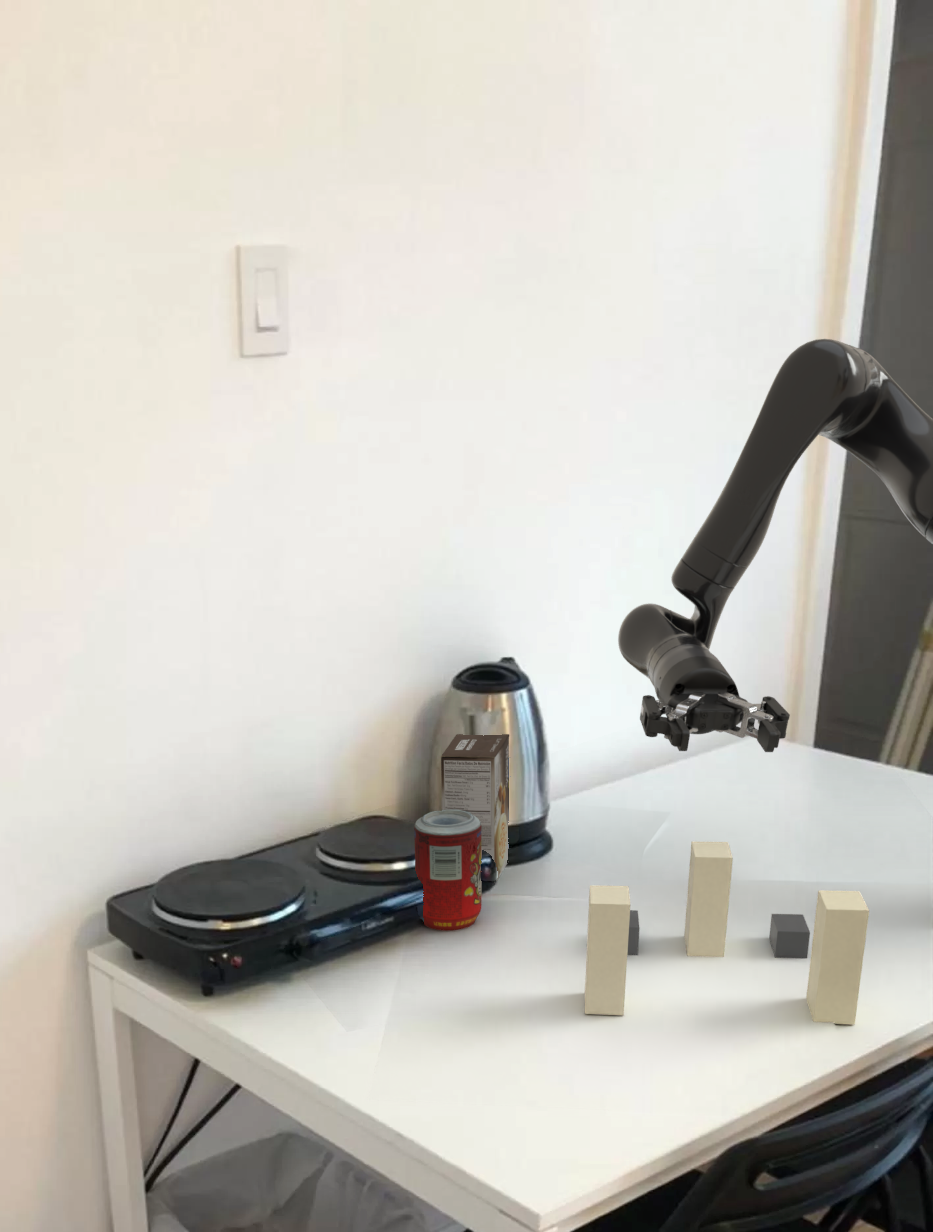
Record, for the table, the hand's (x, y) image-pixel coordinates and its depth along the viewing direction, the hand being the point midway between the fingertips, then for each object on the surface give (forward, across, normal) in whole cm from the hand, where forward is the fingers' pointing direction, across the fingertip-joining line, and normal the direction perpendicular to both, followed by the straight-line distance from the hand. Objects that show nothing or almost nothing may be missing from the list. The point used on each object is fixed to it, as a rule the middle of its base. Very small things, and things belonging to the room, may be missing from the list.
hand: (728, 743), depth 150 cm
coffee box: (-15, -22, +23) cm, 35 cm away
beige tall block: (+25, +6, +16) cm, 31 cm away
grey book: (+9, -10, +19) cm, 23 cm away
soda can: (0, -26, +21) cm, 34 cm away
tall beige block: (+10, -2, +19) cm, 21 cm away
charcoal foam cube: (+11, +6, +18) cm, 22 cm away
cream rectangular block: (+22, -14, +18) cm, 32 cm away
